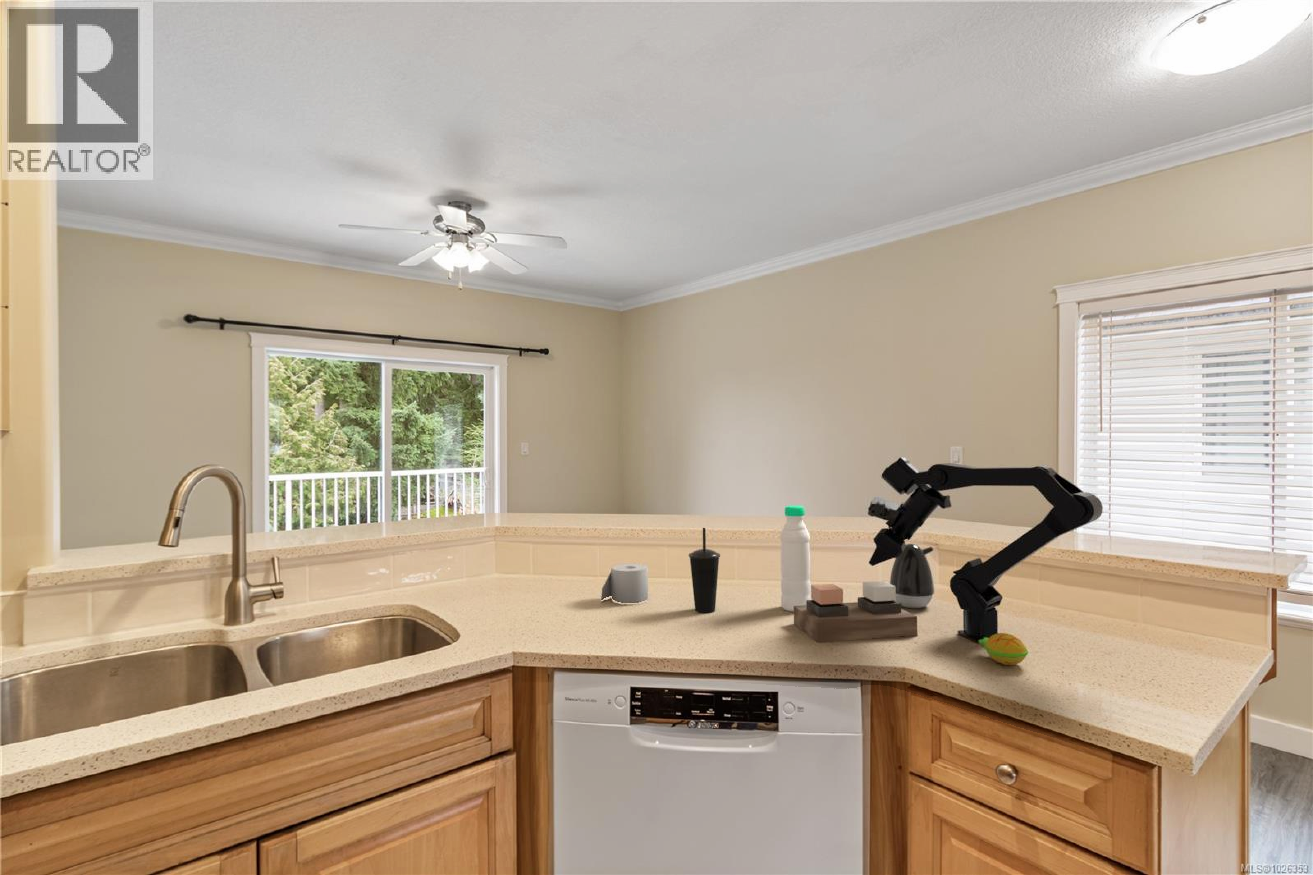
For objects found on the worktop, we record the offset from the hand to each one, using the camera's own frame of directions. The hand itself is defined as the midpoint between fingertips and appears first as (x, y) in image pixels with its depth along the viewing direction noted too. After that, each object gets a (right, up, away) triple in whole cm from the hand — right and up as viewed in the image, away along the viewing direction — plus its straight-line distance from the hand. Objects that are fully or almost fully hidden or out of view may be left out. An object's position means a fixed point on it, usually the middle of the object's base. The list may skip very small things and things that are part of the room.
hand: (875, 557), depth 146 cm
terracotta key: (-15, -7, -12) cm, 20 cm away
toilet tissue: (-60, -15, +16) cm, 63 cm away
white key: (-3, -7, -10) cm, 12 cm away
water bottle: (-17, -14, +6) cm, 23 cm away
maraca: (+13, -14, -31) cm, 36 cm away
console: (-9, -14, -11) cm, 19 cm away
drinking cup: (-39, -14, +6) cm, 42 cm away
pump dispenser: (+12, -14, +8) cm, 19 cm away
